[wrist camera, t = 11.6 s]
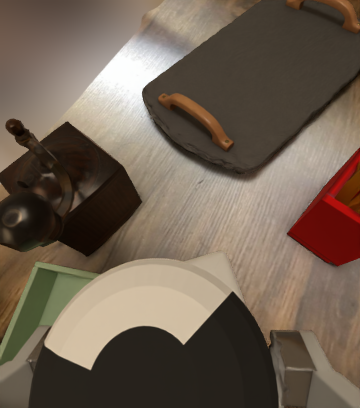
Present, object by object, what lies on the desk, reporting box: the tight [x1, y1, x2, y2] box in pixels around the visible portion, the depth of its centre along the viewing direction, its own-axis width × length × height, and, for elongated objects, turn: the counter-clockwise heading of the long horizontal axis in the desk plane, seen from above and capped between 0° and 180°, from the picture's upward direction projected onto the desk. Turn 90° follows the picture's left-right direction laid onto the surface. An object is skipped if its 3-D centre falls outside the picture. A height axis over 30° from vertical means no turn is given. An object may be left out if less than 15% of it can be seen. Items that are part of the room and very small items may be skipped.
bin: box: [0, 261, 101, 366], centre depth 25 cm, size 15×15×5 cm
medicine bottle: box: [28, 251, 284, 408], centre depth 11 cm, size 7×7×12 cm
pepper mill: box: [0, 119, 142, 256], centre depth 26 cm, size 16×11×18 cm
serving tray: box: [142, 0, 360, 174], centre depth 39 cm, size 39×23×6 cm, turn 133°
